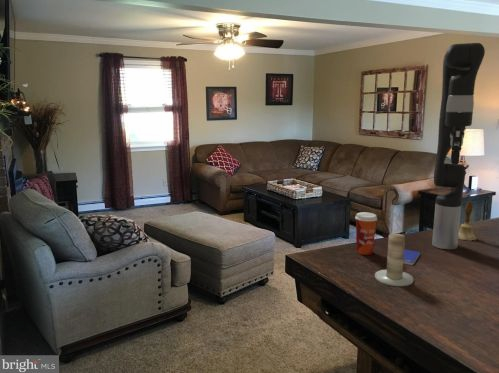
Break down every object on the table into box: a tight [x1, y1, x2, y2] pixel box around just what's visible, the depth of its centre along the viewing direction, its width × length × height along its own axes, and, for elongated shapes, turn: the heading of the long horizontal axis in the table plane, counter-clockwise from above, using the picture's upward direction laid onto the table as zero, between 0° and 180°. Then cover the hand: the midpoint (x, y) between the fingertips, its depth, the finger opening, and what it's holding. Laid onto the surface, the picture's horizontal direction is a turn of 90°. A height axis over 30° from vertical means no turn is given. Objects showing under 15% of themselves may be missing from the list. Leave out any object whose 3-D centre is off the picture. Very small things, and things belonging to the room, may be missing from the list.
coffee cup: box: [354, 211, 378, 256], centre depth 160 cm, size 8×8×15 cm
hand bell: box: [458, 200, 477, 242], centre depth 177 cm, size 8×8×16 cm
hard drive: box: [403, 248, 421, 266], centre depth 156 cm, size 2×8×12 cm
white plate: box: [374, 269, 414, 287], centre depth 138 cm, size 12×12×1 cm
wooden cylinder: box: [386, 233, 406, 280], centre depth 136 cm, size 5×5×14 cm
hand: (454, 161), depth 134 cm, fingers open, 8 cm apart
